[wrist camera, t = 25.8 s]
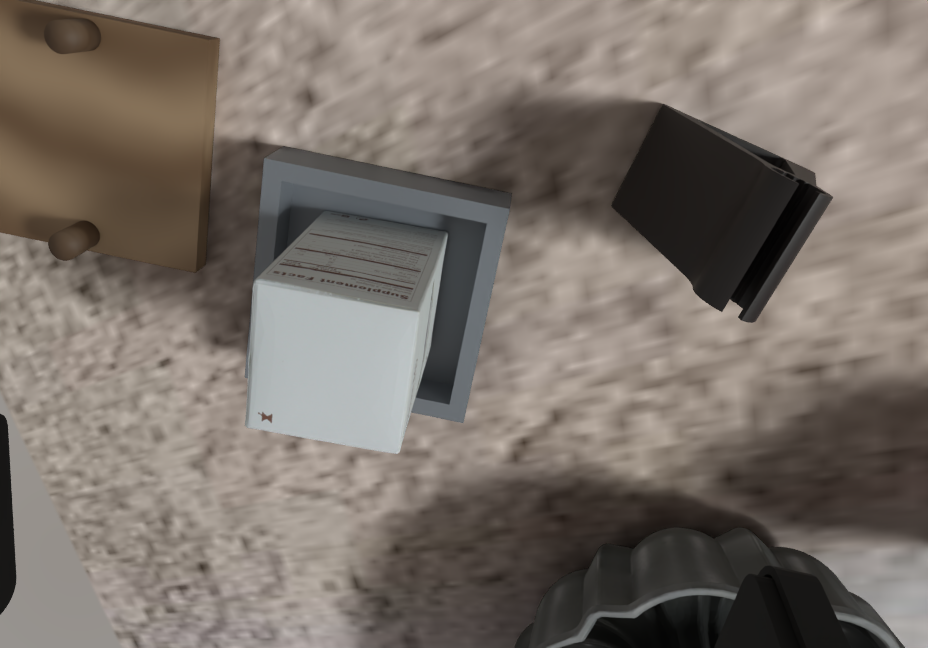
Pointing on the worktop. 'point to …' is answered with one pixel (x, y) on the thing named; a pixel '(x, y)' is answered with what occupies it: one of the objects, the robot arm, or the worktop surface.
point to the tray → (411, 203)
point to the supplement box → (344, 331)
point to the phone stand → (720, 209)
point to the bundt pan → (679, 594)
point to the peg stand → (106, 134)
